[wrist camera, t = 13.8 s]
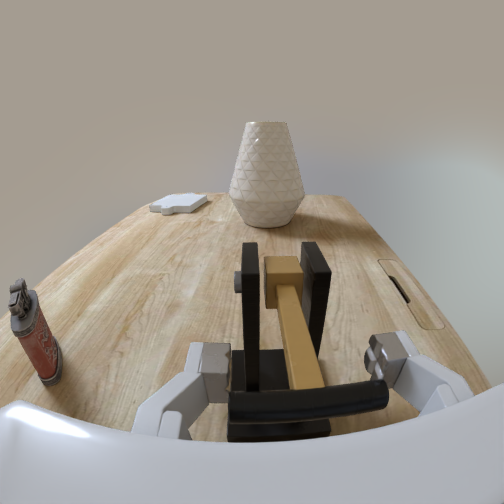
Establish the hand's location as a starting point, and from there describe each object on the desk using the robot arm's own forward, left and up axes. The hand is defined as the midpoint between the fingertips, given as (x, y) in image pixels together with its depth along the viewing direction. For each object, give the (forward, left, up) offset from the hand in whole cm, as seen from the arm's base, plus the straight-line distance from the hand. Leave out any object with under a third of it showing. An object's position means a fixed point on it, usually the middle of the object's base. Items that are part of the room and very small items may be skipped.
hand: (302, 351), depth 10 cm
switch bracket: (+5, -6, -13) cm, 15 cm away
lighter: (+26, +8, -13) cm, 30 cm away
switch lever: (+2, -2, -2) cm, 4 cm away
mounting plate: (+62, -44, -13) cm, 77 cm away
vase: (+33, -46, -13) cm, 58 cm away
